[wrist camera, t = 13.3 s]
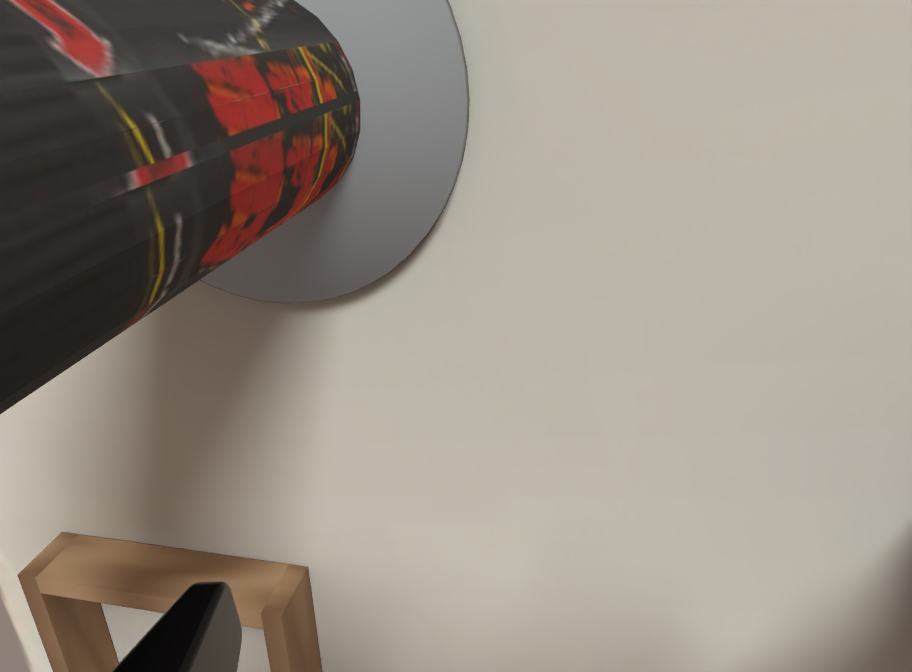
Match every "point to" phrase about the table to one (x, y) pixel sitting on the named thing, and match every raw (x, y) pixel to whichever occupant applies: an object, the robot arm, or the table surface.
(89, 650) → the wood frame
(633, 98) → the table surface
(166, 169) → the deodorant
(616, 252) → the table surface
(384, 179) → the slate mat
